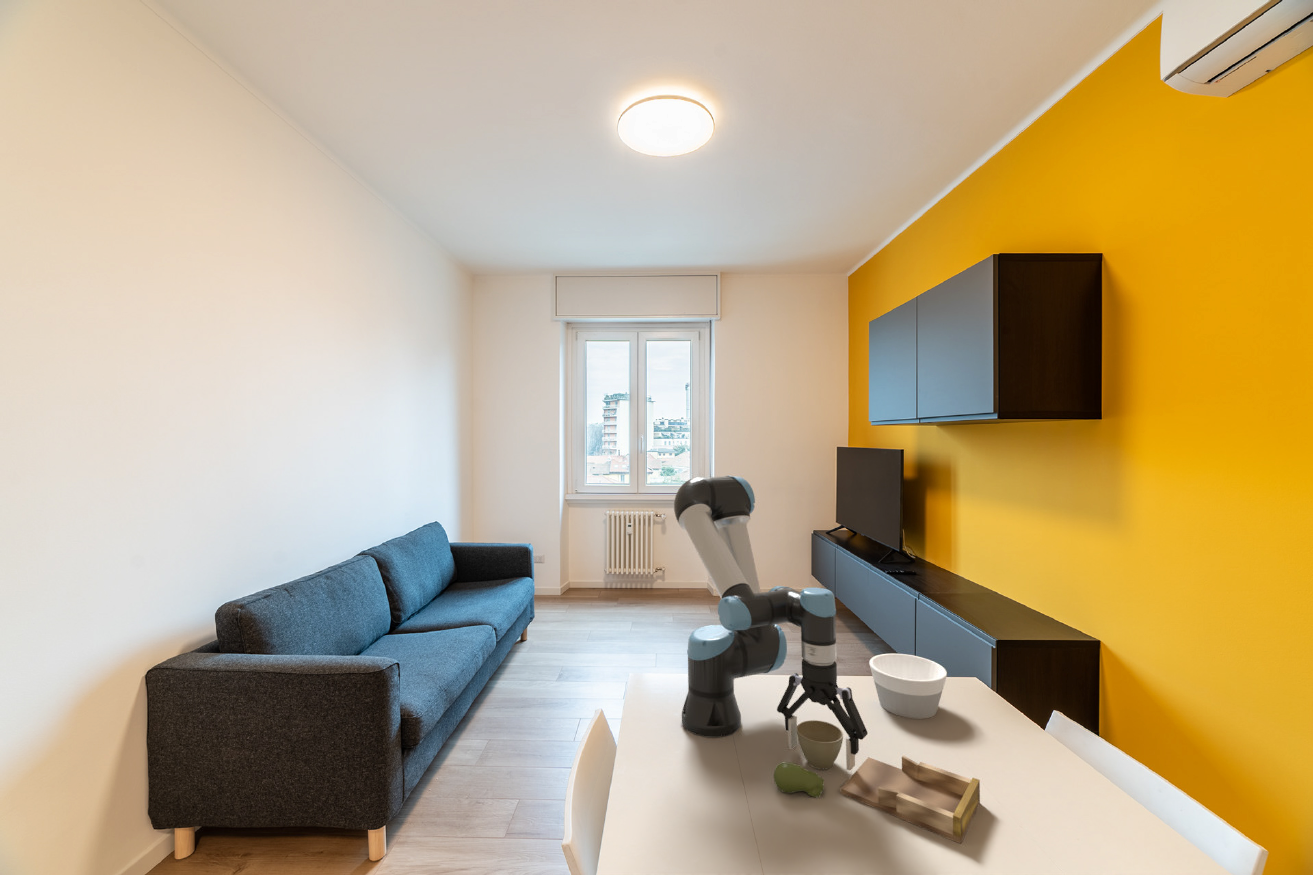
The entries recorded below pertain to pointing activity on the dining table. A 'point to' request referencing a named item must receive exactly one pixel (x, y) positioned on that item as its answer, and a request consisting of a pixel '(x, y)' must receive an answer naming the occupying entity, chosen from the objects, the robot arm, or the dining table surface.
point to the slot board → (918, 795)
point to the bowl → (908, 684)
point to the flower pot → (819, 742)
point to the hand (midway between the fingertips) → (820, 756)
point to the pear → (797, 779)
